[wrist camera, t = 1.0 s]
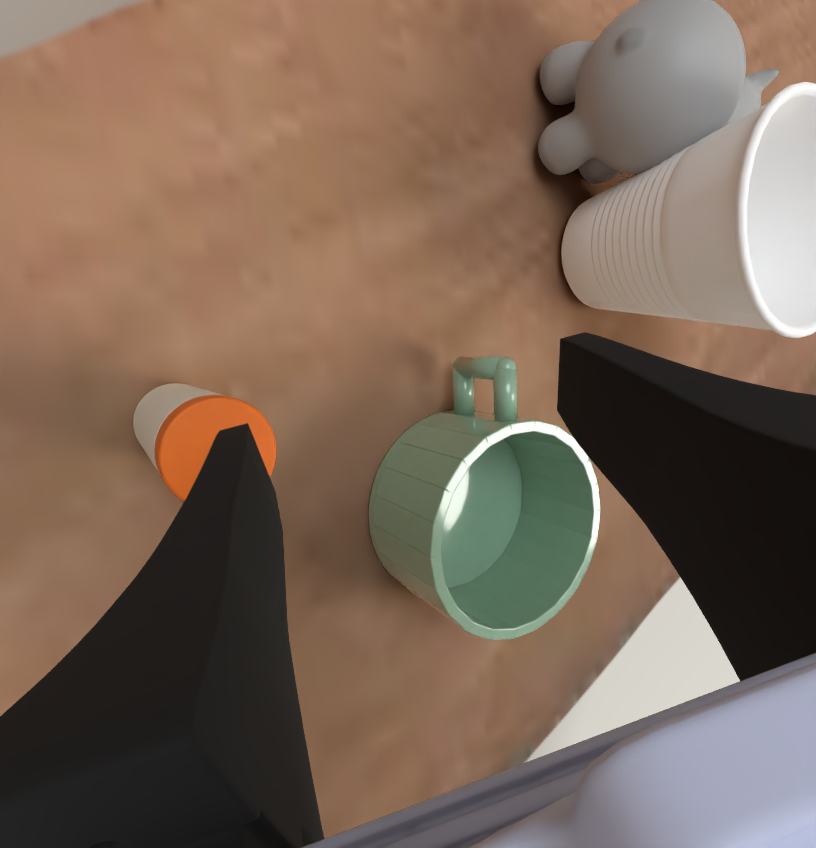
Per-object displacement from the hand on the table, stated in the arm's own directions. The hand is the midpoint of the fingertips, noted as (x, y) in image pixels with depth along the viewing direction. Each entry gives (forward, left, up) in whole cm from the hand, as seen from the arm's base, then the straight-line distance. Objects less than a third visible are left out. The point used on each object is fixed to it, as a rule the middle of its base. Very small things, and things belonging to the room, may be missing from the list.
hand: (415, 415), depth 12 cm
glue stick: (-3, +2, -12) cm, 13 cm away
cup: (+18, -10, -12) cm, 24 cm away
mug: (+3, -10, -12) cm, 16 cm away
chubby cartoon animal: (+23, -6, -12) cm, 27 cm away
